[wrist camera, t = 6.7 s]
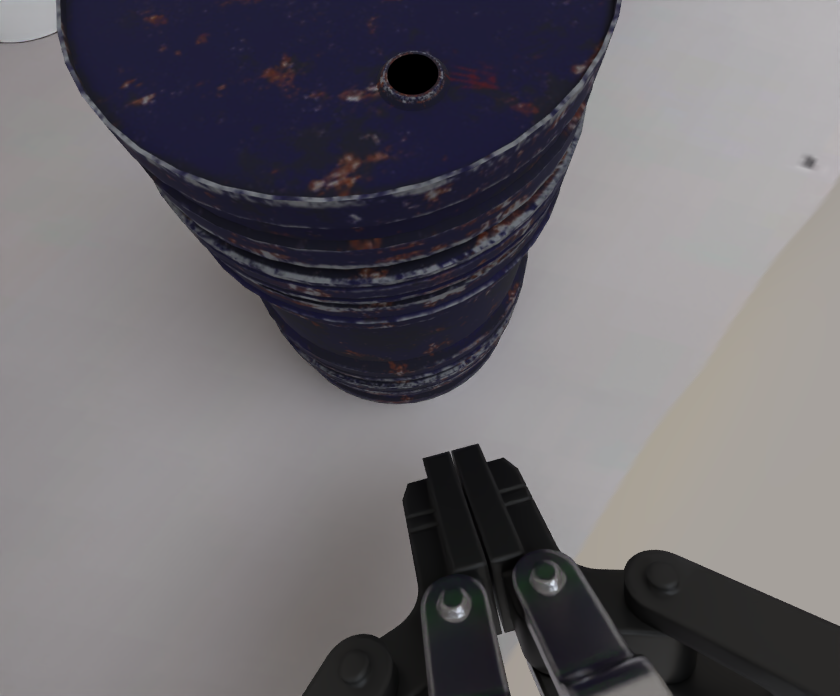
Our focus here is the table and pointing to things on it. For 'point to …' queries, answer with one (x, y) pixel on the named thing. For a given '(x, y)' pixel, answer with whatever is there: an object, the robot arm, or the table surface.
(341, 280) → the navy blue cylinder
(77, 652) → the table surface
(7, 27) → the bracket
